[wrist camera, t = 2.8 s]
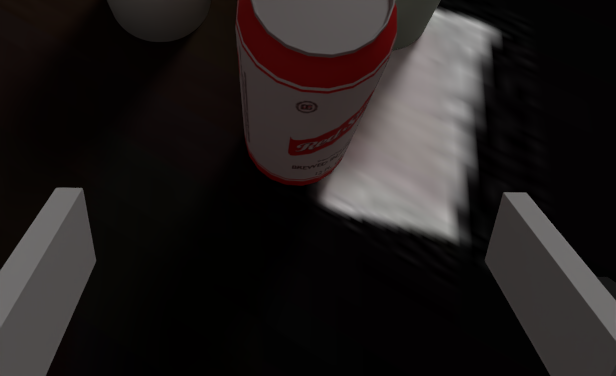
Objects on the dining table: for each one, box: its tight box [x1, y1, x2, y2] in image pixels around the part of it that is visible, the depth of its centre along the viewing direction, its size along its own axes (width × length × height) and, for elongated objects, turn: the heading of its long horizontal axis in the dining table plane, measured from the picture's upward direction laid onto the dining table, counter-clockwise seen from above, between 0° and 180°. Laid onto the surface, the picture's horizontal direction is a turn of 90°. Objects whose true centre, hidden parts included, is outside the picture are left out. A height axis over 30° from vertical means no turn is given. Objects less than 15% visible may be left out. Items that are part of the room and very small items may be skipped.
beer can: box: [235, 0, 397, 186], centre depth 26 cm, size 6×6×16 cm
